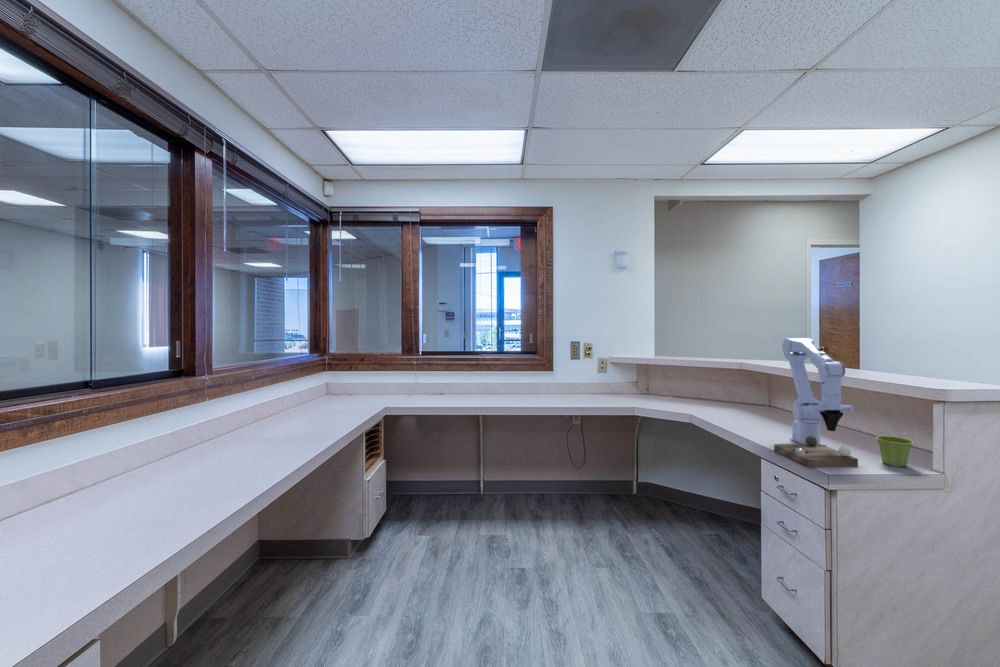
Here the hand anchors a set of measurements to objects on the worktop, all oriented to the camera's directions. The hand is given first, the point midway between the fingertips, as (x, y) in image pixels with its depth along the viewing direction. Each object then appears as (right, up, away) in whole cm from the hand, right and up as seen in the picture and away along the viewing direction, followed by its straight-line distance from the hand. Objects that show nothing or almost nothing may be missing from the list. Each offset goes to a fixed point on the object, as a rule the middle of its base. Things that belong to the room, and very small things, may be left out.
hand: (831, 430), depth 153 cm
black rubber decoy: (-4, -5, +5) cm, 8 cm away
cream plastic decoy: (-2, -6, -8) cm, 10 cm away
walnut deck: (-8, -10, -2) cm, 13 cm away
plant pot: (+14, -10, -10) cm, 20 cm away
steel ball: (-12, -8, -1) cm, 15 cm away
